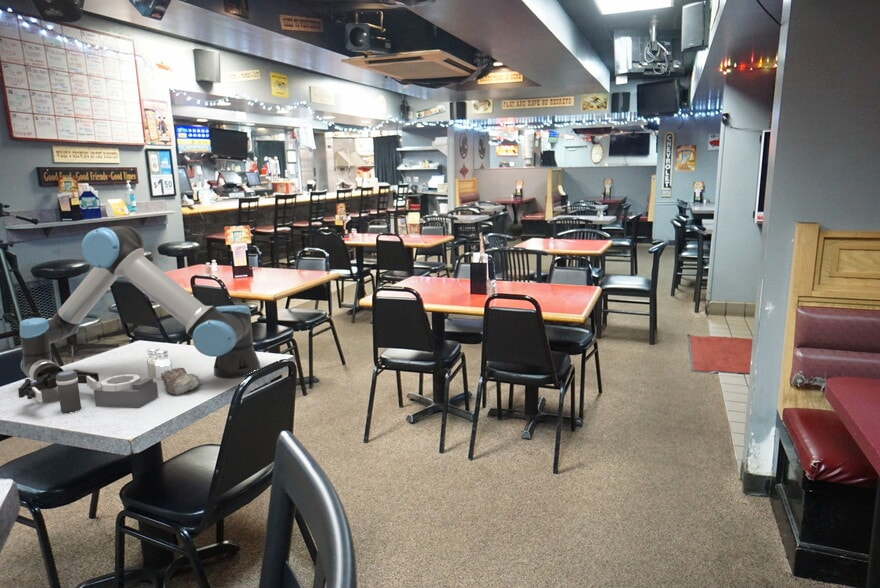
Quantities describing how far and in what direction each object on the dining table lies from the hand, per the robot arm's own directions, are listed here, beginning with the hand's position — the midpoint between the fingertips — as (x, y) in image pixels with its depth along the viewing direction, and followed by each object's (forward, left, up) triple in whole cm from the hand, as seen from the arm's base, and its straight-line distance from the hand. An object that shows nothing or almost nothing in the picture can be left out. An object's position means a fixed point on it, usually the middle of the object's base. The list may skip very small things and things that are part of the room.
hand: (68, 391), depth 166 cm
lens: (+1, -1, -6) cm, 6 cm away
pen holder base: (-11, -9, -6) cm, 15 cm away
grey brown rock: (-21, -21, -6) cm, 31 cm away
